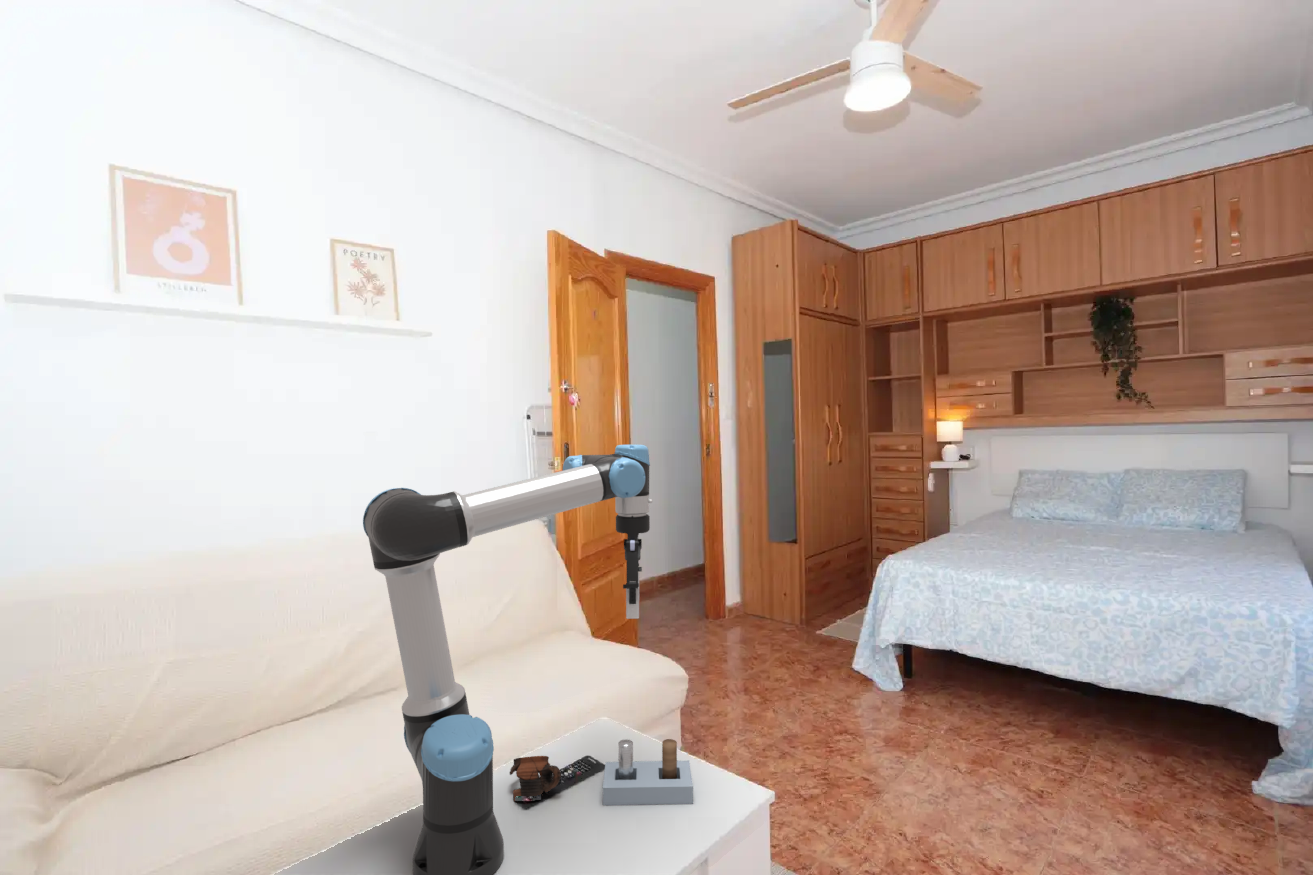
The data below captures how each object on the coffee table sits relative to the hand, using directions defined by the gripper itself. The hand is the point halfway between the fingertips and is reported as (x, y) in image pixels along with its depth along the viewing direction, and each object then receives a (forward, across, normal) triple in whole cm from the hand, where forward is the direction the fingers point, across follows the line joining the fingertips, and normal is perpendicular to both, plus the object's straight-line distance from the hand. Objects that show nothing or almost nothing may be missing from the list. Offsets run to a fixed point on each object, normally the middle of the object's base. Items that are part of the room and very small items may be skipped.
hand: (633, 609), depth 145 cm
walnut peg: (+35, -11, -8) cm, 37 cm away
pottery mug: (+35, -10, +20) cm, 42 cm away
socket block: (+35, -11, -3) cm, 37 cm away
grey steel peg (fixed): (+35, -11, +2) cm, 36 cm away
